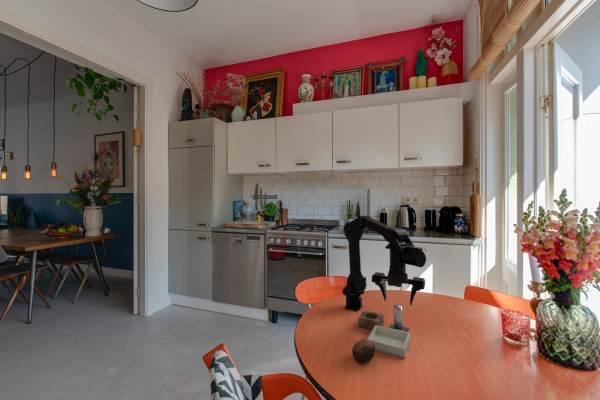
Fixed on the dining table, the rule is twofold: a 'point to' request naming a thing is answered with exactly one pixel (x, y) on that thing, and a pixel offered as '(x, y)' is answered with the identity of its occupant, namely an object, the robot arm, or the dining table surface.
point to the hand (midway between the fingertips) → (397, 302)
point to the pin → (398, 317)
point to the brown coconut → (363, 351)
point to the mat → (402, 328)
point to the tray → (390, 341)
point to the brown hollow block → (370, 320)
